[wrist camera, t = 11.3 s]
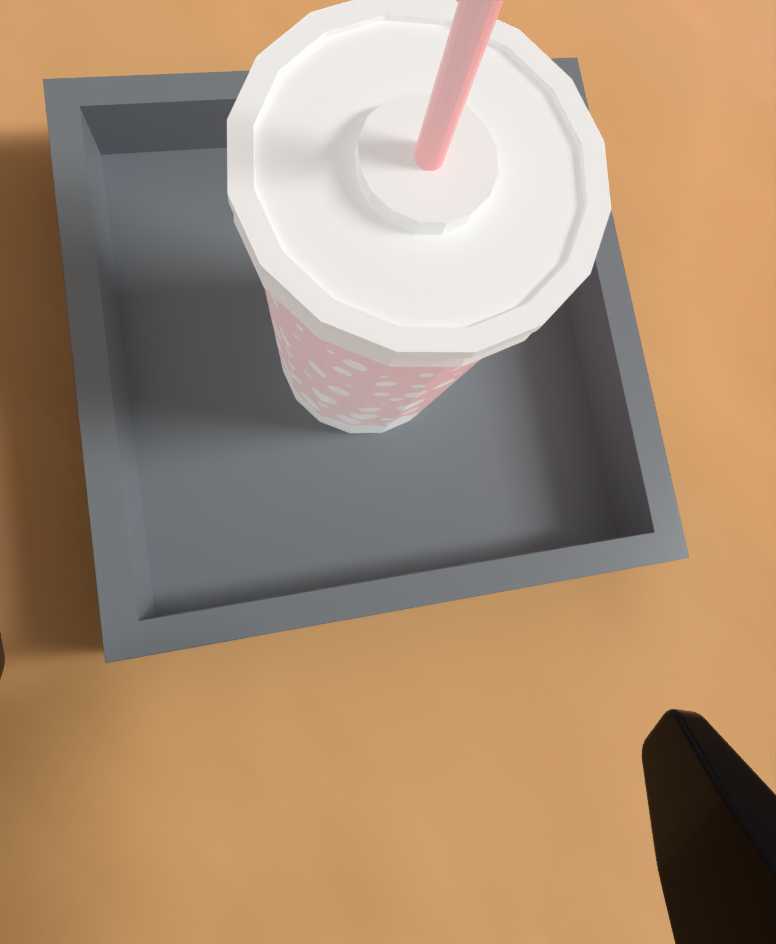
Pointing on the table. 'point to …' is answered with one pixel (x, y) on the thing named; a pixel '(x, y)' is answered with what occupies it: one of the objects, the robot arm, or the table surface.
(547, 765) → the table surface
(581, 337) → the tray
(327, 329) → the beverage cup
